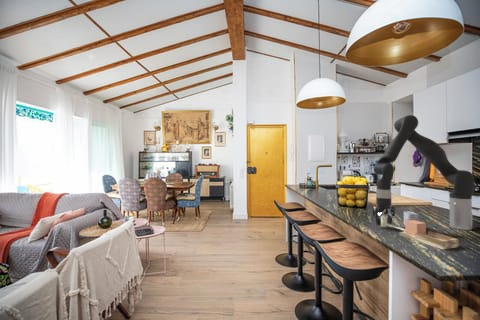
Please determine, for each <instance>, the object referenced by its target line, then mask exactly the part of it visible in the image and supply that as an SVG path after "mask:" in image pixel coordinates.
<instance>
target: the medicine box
mask: <svg viewBox="0 0 480 320" xmlns="http://www.w3.org/2000/svg"><path fill="white" fill-rule="evenodd" d="M410 220H415V221H420V216H419V214H418V213H417V212H416V213H415V211H414V212H413V211H408V210H407V211H405V210H404V211H403V226H404V227H405V221H410Z"/></svg>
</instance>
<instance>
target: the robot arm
mask: <svg viewBox="0 0 480 320" xmlns="http://www.w3.org/2000/svg"><path fill="white" fill-rule="evenodd" d="M393 124H394V125H393V127H394V130H395V131H396V133H397V134H396V136H395V137H394V138H393V139H392V140H391V142H390V143H389V144H388V146H386V149H385V151H384V153H383V155H381V156H380V158H379V159H378V160H377V161H376V162H375V164H374V166H373V172H374V173H375V174H376V175H379V176H381V178H379V179H377V180H376V191H375V192H376V195H375V197H376V198H375V199H376V200H375V201H376V205H377V207H376V206H373V207H372V218H373V219H374V218H375V225H377V226H381V216H387V224H389V225H393V224H392V223H393V218H394V217H395V216H396V211H395V210H396V209H395V206H393V205H392V187H391V185H392V184H391V183H392V179H393V177H394V174H395V168H394V166H393V164H391V163H394V162H395V161H396V160H397V159H398V157H399V156H400V153H401V151H402V149H403V147H404V146H405V144H406V142H407V141H408V142H410V144H411V145H412V146H413V147H414V148H415V149H417V151H418V152H419V153H420V154H421V155H422V156H423V157H424V158H425V159H426V160H427V161H428V162H429V163H430V164H432V166H434V168H435V169H437V171H439V173H440V175H442V177H443V178H444V179H445V180H446V182H447V183H449V184H450V185H452V186H453V190H452V191H450V192H449V195H448V196H449V198H448V199H449V201H448V202H449V227H450V228H452V229H458V230H464V231H471V230H473V206H472V201H473V198H472V196H473V195H474V192H475V177H474V175H473V173H472V172H470V171H468V170H460V169H458V168H457V167H455V166H454V165H453V164H452V163H451V162H450V161H449V159H448V157H447V154H446V151H445V150H444V149H443V148H442V147H441V146H440V145H439V144H438V143H437V142H436V141H434V140H433V139H432V138H431V139H430V138H429V137H425V136H423V135H422V134H420V133H418V132H417V131H416V129H417V127H418V126H419V119H418V118H417V117H416V116H415V115H413V114H412V115H411V114H410V115H409V114H408V115H405V116H403V117H401V118H399V119H396V120H395V122H394V123H393Z"/></svg>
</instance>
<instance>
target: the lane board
mask: <svg viewBox="0 0 480 320" xmlns="http://www.w3.org/2000/svg"><path fill="white" fill-rule="evenodd" d="M398 234H399V236H401V237H404V238H407V239H411V240H412V239H413V241H415V240H416V241H415V242H418V241H419V242H418V243H421V244H424V245H429V246H431V247H434V248H437V249H440V250H443V251H444V250H449V249H454V248H459V246H460V245H459V241H460V240H459V238H455V237H453V236H449V235H445V234H442V233H438V232H433V231H431V230H430V231H427V233H426V235H422V234H418V233H415V235H412V234H408V233H405V231H399V232H398Z"/></svg>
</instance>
